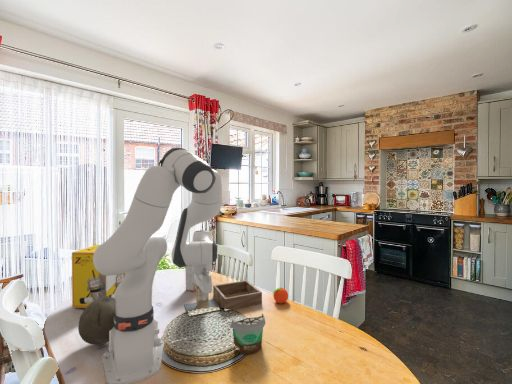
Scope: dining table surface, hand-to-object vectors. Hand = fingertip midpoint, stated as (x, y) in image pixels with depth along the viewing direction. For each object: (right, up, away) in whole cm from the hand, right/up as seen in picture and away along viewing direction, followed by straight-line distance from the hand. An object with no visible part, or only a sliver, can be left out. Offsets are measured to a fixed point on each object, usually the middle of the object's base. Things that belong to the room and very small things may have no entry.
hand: (202, 296), depth 119 cm
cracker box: (-8, -5, +26) cm, 28 cm away
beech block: (0, -5, 0) cm, 5 cm away
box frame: (+15, -5, +8) cm, 18 cm away
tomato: (+35, -5, +5) cm, 36 cm away
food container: (+22, -6, -31) cm, 39 cm away
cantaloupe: (-27, +9, -24) cm, 37 cm away
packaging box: (-50, -5, +8) cm, 51 cm away
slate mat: (0, -5, 0) cm, 5 cm away
